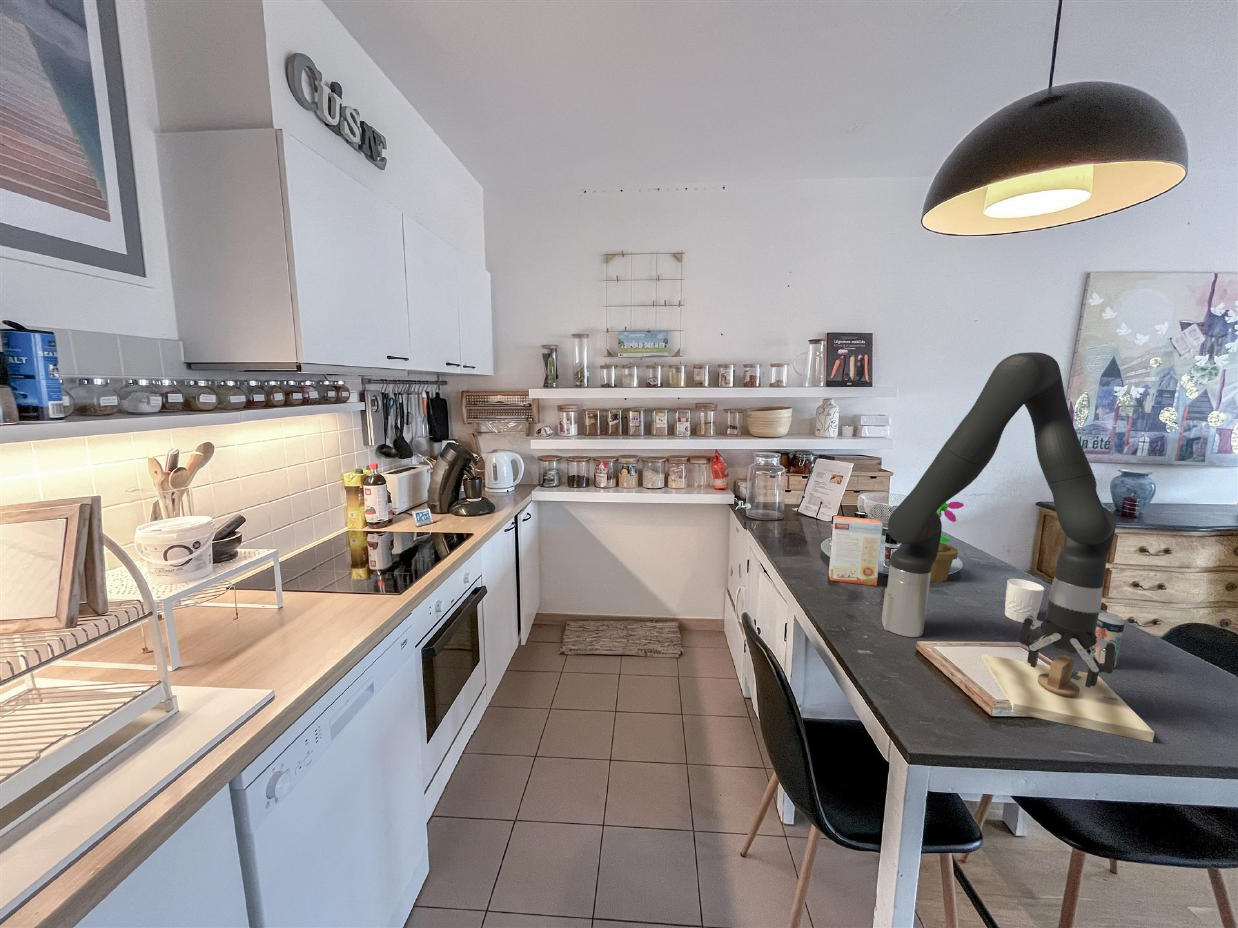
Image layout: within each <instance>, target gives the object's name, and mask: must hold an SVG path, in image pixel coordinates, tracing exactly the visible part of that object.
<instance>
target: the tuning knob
mask: <svg viewBox="0 0 1238 928" xmlns="http://www.w3.org/2000/svg"><path fill="white" fill-rule="evenodd" d="M1074 663H1075V658H1073V657H1070V656H1067V655H1065V654H1062V655H1060V656H1059V657H1057V658H1056V659H1054V660H1053V661H1051V662H1050V665H1049V666H1050V671H1049V674H1040V675H1039V676H1038V683H1039V684H1040V685H1041V686H1042V687H1044V688H1045V689H1047V690H1049V691H1051V692H1053V693H1056V694H1059V695H1062V696H1067V697H1077V696H1078V695H1079V692H1080V688H1079V687H1078V686H1077V685H1076V684H1075V683H1073V682H1072V681H1070V680H1071V678H1073V677H1074V676H1075V675H1077V674H1078V671H1079V670H1075V669H1074ZM1072 670H1073V671H1072Z"/></svg>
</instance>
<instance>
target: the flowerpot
mask: <svg viewBox="0 0 1238 928" xmlns="http://www.w3.org/2000/svg"><path fill="white" fill-rule="evenodd" d="M964 504H965V503H963V502H961V501H950V502H948V503H947V502H945V503H944V504H943V505H942V506H941V507H940V508H939V509H938V510H937V511H936V512H937V513H938V515H939V517H940V519H941V517H942V516H943V515H944V516H945V517H946V518H947V520H948V521H950V522H952V523H955V522H957V518H956V517H957V516H956V515H955V514H954V513H953V512H952V510H955V509H961V508H963V507H965V505H964ZM948 508H949V509H948ZM950 509H951V510H950ZM942 512H943V513H944V514H943V515H942ZM949 542H951V540H950V539H949V538H947V537H945V536H943V535H941V539H940V544H939V549H938V554H937V558H936V560H935V562H934V563H933V565H932V569H931V576H930V582H937V583H940V582H941V583H942V582H945V581H947V580H948V577H949V573H950V570H951V567H952V563H953V561H954V560H957V559H958V555H959V554H958V553H959V550H958V549H957V548H955V547H953V546H952V545H950V544H945V543H949Z"/></svg>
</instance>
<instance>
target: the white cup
mask: <svg viewBox="0 0 1238 928" xmlns="http://www.w3.org/2000/svg"><path fill="white" fill-rule="evenodd" d="M1006 581H1007V582H1006V591H1005V602H1004V603H1005V606H1004V614H1005V616H1006V617H1007V618H1008V619H1011V621H1015V622H1018V623H1024V620H1025V619H1026V617H1027V616H1029V615H1031V616H1033V617H1034V619H1036V620H1038V615H1039V612H1040V607H1041V604H1042V600H1043V597H1044V593H1045V587H1044V586H1043V585H1041V584H1039V583H1036V582H1034V581H1031V580H1026V579H1022V578H1021V579H1020V578H1009V579H1007V580H1006Z"/></svg>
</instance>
